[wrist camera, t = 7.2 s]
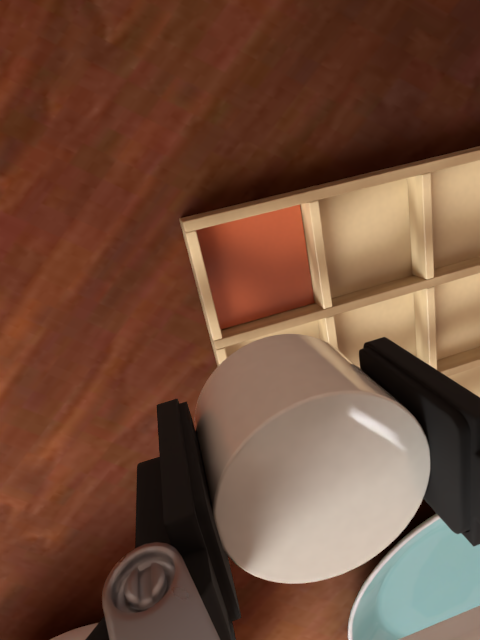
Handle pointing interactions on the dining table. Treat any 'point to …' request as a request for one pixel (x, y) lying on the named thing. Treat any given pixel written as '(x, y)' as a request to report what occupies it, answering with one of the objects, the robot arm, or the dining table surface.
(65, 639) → the serving bowl
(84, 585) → the dining table surface
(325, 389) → the white cylinder puck
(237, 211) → the wooden compartment tray
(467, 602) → the plate
